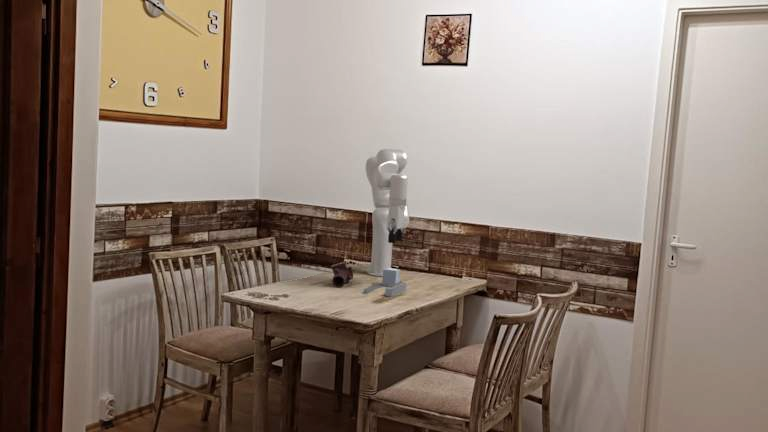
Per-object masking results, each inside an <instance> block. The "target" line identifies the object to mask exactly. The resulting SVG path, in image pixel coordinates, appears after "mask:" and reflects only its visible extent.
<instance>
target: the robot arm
mask: <svg viewBox="0 0 768 432" xmlns="http://www.w3.org/2000/svg"><path fill="white" fill-rule="evenodd" d="M407 155H408V154H407V153H406V152H405V150H403V149H392V148H382V149H380V150H378V152H377V153H376V156H371V157H369V158H368V159H367V160H366V162H365V172H366V177H367V180H368V182H369V185H370V187H371V195H372V201H373V206H374V207H375V209H374V210H373V211H372V215H371V219H372V222H371V223H372V243H371V244H372V246H371V247H372V249H371V258H370V261H371V263H369V264H368V263H363V264H362V268H363V269H368V270H367V272H366V273H367V274H368V275H370V276H376V277H383V269H386V268H391V269H392V258H393V257H392V255H393V244H396V242H403V235H404V234H403V232H404V229H406V228H407V227H408V226H409V224H410V212H409V207H408V206H409V205H408V199H407V198H408V183H409V181H408V179H409V178H408V176H407V175H406V174H404V173H402V172H403V171H404V169H405V168H406V166H407V164H408V156H407Z"/></svg>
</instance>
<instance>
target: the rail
mask: <svg viewBox="0 0 768 432" xmlns="http://www.w3.org/2000/svg"><path fill="white" fill-rule="evenodd" d="M382 286H383V285H382V283H381V282H377V283H375V284H373V285H371V286H368V287H365V288H363V294H369V293H371V292H374V291H375V290H377V289H380V288H382ZM406 290H407V282H405V281H400V280H399V282H398V283H396V284H394V285H392V286H387V287H386V288H385V294H384V296H385V297H391V298H392V297H394V296H396V295H398V294H401V293H402V292H404V291H406Z"/></svg>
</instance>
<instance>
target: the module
mask: <svg viewBox="0 0 768 432" xmlns="http://www.w3.org/2000/svg"><path fill="white" fill-rule="evenodd" d="M400 272H401V270H400V269H399V268H398V269H397V268H392V267H391V268H386V269H383V276H382V286H385V287H386V286H387V287H390V286H392V285H394V284H396V283H398V282H400Z"/></svg>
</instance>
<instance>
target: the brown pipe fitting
mask: <svg viewBox="0 0 768 432" xmlns="http://www.w3.org/2000/svg"><path fill="white" fill-rule="evenodd" d="M330 267H331V270H332V273H333V277H332V279H331V283H332V285H333V286H334V287H335V288H342V287H344V285H345V284H348V283H349V282H350V280H353V279H354V271H353V267H352V266H351V265H350V266H347V265H346V262H345V261H343V262H339V263H334V264H332V265H331V266H330Z"/></svg>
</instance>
